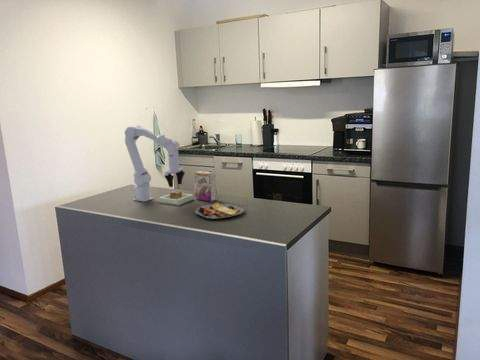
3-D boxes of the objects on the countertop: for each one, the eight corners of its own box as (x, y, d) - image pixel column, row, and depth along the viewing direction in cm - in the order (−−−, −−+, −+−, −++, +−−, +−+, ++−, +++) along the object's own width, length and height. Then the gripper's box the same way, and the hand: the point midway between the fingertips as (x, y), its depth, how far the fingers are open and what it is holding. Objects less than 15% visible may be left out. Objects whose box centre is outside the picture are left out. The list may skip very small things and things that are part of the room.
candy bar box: (195, 199, 234) (194, 172, 231) (200, 197, 238) (199, 170, 235) (211, 201, 228) (209, 173, 225) (216, 199, 233) (214, 172, 229)
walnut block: (170, 200, 232) (169, 192, 230) (175, 198, 236) (175, 190, 235) (176, 201, 229) (176, 193, 228) (182, 199, 233) (181, 191, 232)
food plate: (186, 213, 208) (186, 206, 207) (222, 204, 222) (222, 198, 222) (215, 225, 189) (215, 218, 188) (251, 215, 204) (251, 208, 203)
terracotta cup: (193, 196, 242) (192, 185, 241) (199, 194, 247) (198, 183, 246) (201, 197, 239) (200, 186, 238) (207, 195, 244) (206, 184, 242)
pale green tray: (159, 202, 231) (158, 197, 230) (175, 197, 242) (175, 192, 241) (177, 205, 223) (177, 200, 222) (193, 199, 235) (193, 194, 234)
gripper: (170, 164, 220) (172, 188, 223) (187, 160, 232) (188, 183, 234) (161, 164, 223) (162, 187, 226) (178, 160, 235) (179, 182, 238)
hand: (175, 185), depth 231 cm, fingers open, 7 cm apart
